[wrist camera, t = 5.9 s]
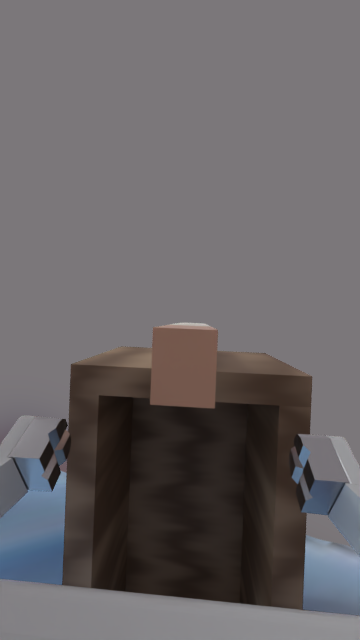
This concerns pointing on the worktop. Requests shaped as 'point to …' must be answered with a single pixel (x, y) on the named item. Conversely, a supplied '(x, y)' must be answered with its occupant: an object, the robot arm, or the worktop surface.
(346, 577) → the worktop surface
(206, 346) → the bar
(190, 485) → the shelf
